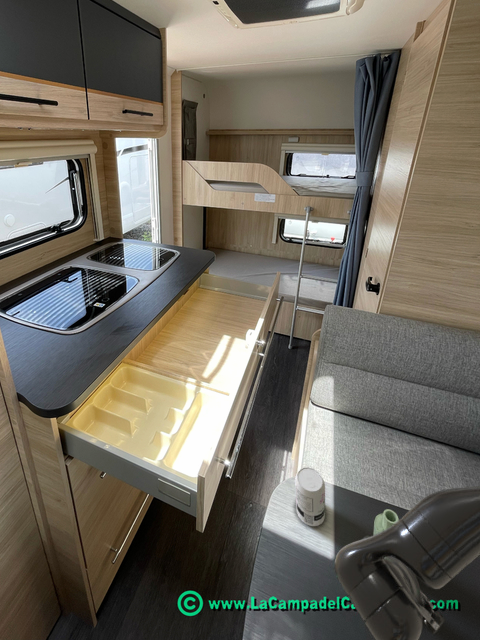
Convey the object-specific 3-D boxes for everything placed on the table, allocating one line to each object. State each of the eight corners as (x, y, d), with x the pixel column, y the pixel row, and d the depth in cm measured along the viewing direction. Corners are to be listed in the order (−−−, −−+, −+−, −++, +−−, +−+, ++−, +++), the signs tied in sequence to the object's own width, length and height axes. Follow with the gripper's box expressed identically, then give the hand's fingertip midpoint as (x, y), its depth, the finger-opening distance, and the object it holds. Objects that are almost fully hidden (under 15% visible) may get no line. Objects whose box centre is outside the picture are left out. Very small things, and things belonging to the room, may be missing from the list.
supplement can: (293, 499, 103) (291, 466, 97) (319, 497, 102) (319, 464, 97) (300, 528, 95) (299, 494, 90) (328, 527, 94) (329, 492, 89)
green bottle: (403, 553, 86) (409, 513, 81) (397, 578, 82) (403, 537, 76) (376, 535, 91) (379, 496, 85) (369, 558, 86) (372, 519, 81)
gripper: (452, 615, 49) (453, 604, 59) (365, 522, 60) (378, 526, 70) (423, 658, 48) (429, 639, 59) (340, 556, 59) (357, 554, 70)
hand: (402, 577), depth 65 cm, fingers open, 8 cm apart
